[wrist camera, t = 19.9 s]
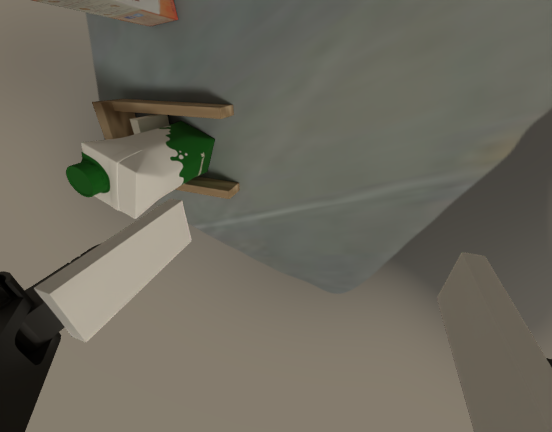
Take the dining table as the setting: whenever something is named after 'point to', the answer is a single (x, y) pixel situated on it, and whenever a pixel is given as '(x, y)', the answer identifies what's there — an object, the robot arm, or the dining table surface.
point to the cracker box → (124, 9)
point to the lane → (120, 111)
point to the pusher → (148, 123)
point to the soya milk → (141, 166)
